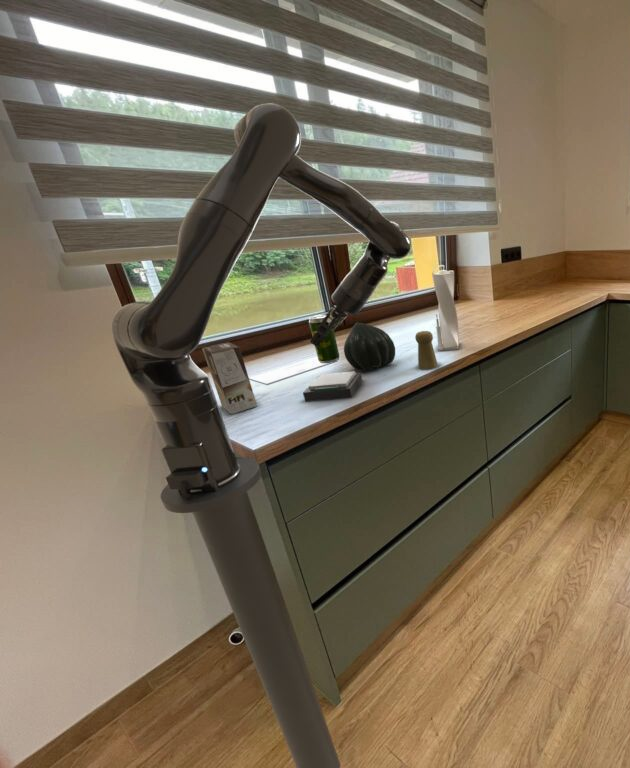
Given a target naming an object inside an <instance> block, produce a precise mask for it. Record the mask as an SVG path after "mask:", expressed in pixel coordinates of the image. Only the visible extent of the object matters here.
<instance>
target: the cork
mask: <svg viewBox="0 0 630 768" xmlns="http://www.w3.org/2000/svg"><path fill="white" fill-rule="evenodd" d="M414 338H415V341H416V343H417V357H418V358H417V363H418V364H417V367H418V369H419V370H431V369H435V368H437V367H439V366H438V365H439V364H438V360H437V357H436V352H435V350H434V345H433V342H432V341H433V339H434V336H433V333H432V332H431V331H429V330H421V331H418V332H416V333H415V337H414Z"/></svg>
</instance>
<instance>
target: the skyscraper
mask: <svg viewBox="0 0 630 768" xmlns="http://www.w3.org/2000/svg"><path fill="white" fill-rule="evenodd" d="M440 267H442V269H441V270H438V272H436V273H435V271H436V270H437V269H438V268H440ZM445 268H446V267H445V265H444V264H439V265H436V266H435V267H434V268H433V270H432V273H431V275H432V281H433V286H434V290H435V294H436V298H437V302H438V307H437V308H438V314H437V313H435V317H436V319H435V320H436V326H435V329H436V336H437V337H436V339H437V347H438V348H437V349H438V350H437V351H438V352H445V351H455V350H456V351H458V350H459V347H460V341H459V339H460V338H459V337H460V335H459V334H460V333H459V319H458V312H457V308H456V303H455V299H454V297H455V271H454V270H451V269H450V270H447V269H445Z"/></svg>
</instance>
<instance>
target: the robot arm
mask: <svg viewBox="0 0 630 768" xmlns="http://www.w3.org/2000/svg"><path fill="white" fill-rule="evenodd" d="M297 121H298V120H297V119H296V118H295V116H294V114H292V113H291V112H290V111H289V110H288V109H287V108H285V107H283V106H281V105H279V104H276V103H269V102H268V103H261V104H258V105H256V106H254V107H252V108H251V109H250V110H249V111H248V112H247V113H246V114H244V115H243V116H242V117H241V118H240V119H239V120H238V122H237V123H236V124H235V126H234V129H233V136H234V140H235V144H236V146H237V148H236V149H235V150H234V152H233V154H232V156H231V157H230V158H229V159H228V160H227V162H225V164H223V166H221V168H220V169H219V170H218V171H217V172H216V173H215V174H214V175H213V176H212V177H211V179H210V180H209V181H208V182H207V183H206V184H205V185H204V187H203V188H202V189H201V190H200V192H199V194H198V195H197V196H196V197H195V199H194V200H193V202H192V204H191V206H189V209H188V210H187V212H186V214H185V216H184V218H183V219H182V222H181V223H180V226H179V230H178V235H177V244H176V245H177V247H176V257H175V262H174V266H173V268H172V271H171V273H170V274H169V276H168V278H167V279H166V281H165V283H163V286H162V287H161V289H160V290H159V292H158V293H157V294H156V296H155V297H154V298H153V299H152V300H151V301H143V300H142V301H141V300H140V301H134V302H129V303H127V304H125V305H123V306H121V307H120V308H119V309H118V310H117V311H116V312H115V314H114V315H113V317H112V320H111V323H110V324H111V325H110V327H111V335H112V338H113V341H114V344H115V347H116V349H117V351H118V354H119V356H120V358H121V360H122V363H123V365H124V367H125V369H126V371H127V374H128V375H129V377H130V380H131V381H132V383H133V385H134V387H136V389H137V390H138V391H139V392H140V393H141V394H142V395H143V397H144V399H145V402H146V404H147V407H148V409H149V412H150V414H151V417H152V419H153V422H154V424H155V427H156V429H157V431H158V434H159V436H160V439H161V441H162V444H163V445H164V446H163V447H162V448H161V453H162V456H163V458H164V460H165V463H166V466H167V467H168V470H169V474H168V475H167V476H166V477H165V479H166V483H167V485H169V487H170V489H171V490H173V489H178V492H179V494H180V495H182V496H183V497H185V498H186V499H190V498H191V495H190V494H200V493H210V492H216V491H217V490H218V489H219V488H221V487H223V486H225V485H227V484H228V483H230V482H232V481H233V480H234V479H236V478H237V477H238V476H239V474H240V472H241V469H240V466H239V464H238V462H237V459H236V453H235V451H234V448H233V445H232V441H231V439H230V435H229V433H228V429H227V427H226V424H225V421H224V419H223V415H222V413H221V410H220V407H219V404H218V400H217V398H216V394H215V392H214V389H213V385H212V384H211V381H210V378H209V376H208V374H207V373H206V371H204V370H202V369H201V368H200V367H199V366H198V365H197V364H196V363H195V362H194V360H193V359H192V358H191V355H190V354H191V353H193V352H194V351H195V349H196V348H197V347H198V346H199V344H200V343H201V341H202V338H203V336H204V333H205V331H206V329H207V326H208V323H209V321H210V318H211V315H212V312H213V310H214V307H215V305H216V302H217V299H218V297H219V295H220V293H221V290H222V289H223V287H224V285H225V283H226V281H228V278H229V276H230V274H231V272H232V270H233V268H234V267H235V265H236V262H237V261H238V259H239V257H240V255H241V254H242V252H243V251H244V249H245V247H246V245H247V243H248V242H249V240H250V238H251V236H252V234H253V231H254V230H255V228H256V226H257V223H258V221H259V219H260V217H261V215H262V213H263V211H264V209H265V207H266V204H267V202H268V200H269V198H270V195H271V193H272V191H273V188H274V186H275V184H276V182H278V179H280V180H283V181H284V182H285V183H287V184H289V185H290V186H292V187H294V188H296V189H297V190H299V191H301V192H302V193H304V194H306V195H307V196H309V197H310V198H312V199H313V200H315V201H316V202H318V203H319V204H321V205H323V206H324V207H325V208H327V209H328V210H329V211H331V212H332V213H333V214H335V215H336V216H337V217H339V218H340V219H341V220H343V221H344V222H345V223H346V224H348V225H349V226H350V227H352V228H353V229H354V230H356V231H357V232H359V233H360V234H361V235H363V236H364V237H365V238H366V239H367V240H368V243H367V245H366V247H365V250H364V252H363V255H362V256H361V257H360V258H359V259H358V261H357V262H356V263H355V265H354V266H353V268H352V269H351V270H350V271H349V272H348V273H347V274H346V275H345V277H344V278H343V280H342V281H340V284H339V285H338V286H337V287H336V289H335V291H334V292H333V293H332V294H331V300H332V302H333V303H334V304H335V305H333V307H331V308H330V309H329V310H328V311H327V314H325V315H326V316H325V318H324V319H323V320H322V322H321V324H320V325H319V327H318V328H317V329H316V331H317V332H316V334H315V335H314V336H313V337H312V338H311V339H310V340H309V341H310V344H312V345H313V346H314V347H315V346H318V345H319V344H320V343H321V342H322V340H323V339H324V338H325V336H327V335H328V333H329V332H330V331H331V330H334V331H335V330H336V329H337V327H339V326H340V325H341V324H342V323H343V321H345V320H346V318H347V317H348V314H350V315H355V316H356V315H358V314H359V313H360V311H362V309H363V307H364V306H365V305H366V304H367V302H368V301H369V299H370V298H371V297H372V296H373V294H374V293H375V290H376V289H377V287H378V286H379V285H380V284H381V282H382V281H383V279H384V278H385V277H386V275H387V273H388V271H389V268H388V264H389V262H390V260H391V259H393V260H401V259H404V258H406V257H407V256H408V255H409V253H410V251H411V240H410V238H409V236H408V235H407V233H406V232H405V231H404V229H403V228H402V227H401V226H400V225H399V224H398V223H397V222H394V221H390V220H388V219H387V218H386V217H385V215H383V214H382V213H381V211H380V210H379V209H378V208H377V207H376V206H375V205H374V204H373V203H372V202H371V201H369V200H368V199H367V198H366V197H364V195H363V194H361V193H360V192H359V191H358V190H357V189H356V188H354V187H352V186H351V185H349V184H347V183H346V182H344V181H342V180H340V179H338V178H335V177H333V176H331V175H329V174H327V173H325V172H323V171H321V170H319V169H317V168H316V167H313V166H312V165H310V163H307V162H306V161H305V160H303V158H301V157H300V156H298V152H299V151H300V148H301V143H302V133H301V128H300V125H299V124H298V122H297ZM322 327H325V328H326V329H327V330H326V331H325V330H324V329H322Z"/></svg>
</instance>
